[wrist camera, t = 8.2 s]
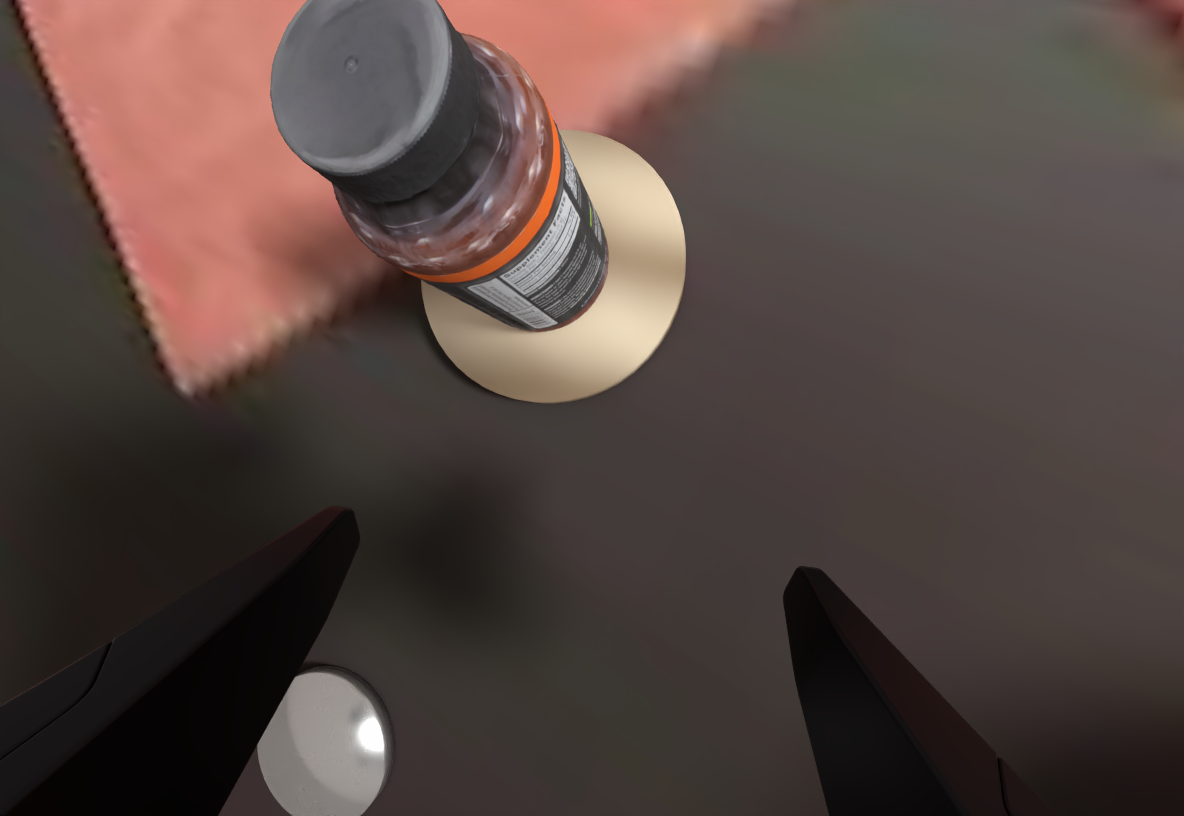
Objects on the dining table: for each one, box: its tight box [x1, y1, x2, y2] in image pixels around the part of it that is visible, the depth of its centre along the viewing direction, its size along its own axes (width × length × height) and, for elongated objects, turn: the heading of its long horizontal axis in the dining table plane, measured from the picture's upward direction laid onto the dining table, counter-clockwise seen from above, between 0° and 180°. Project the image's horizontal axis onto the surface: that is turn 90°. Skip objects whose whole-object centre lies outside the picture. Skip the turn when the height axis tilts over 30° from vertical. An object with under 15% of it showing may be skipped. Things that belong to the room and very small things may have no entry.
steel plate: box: [257, 666, 395, 816], centre depth 22 cm, size 7×7×1 cm
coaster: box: [421, 130, 686, 404], centre depth 20 cm, size 12×12×1 cm
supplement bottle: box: [270, 0, 609, 332], centre depth 14 cm, size 6×6×11 cm
